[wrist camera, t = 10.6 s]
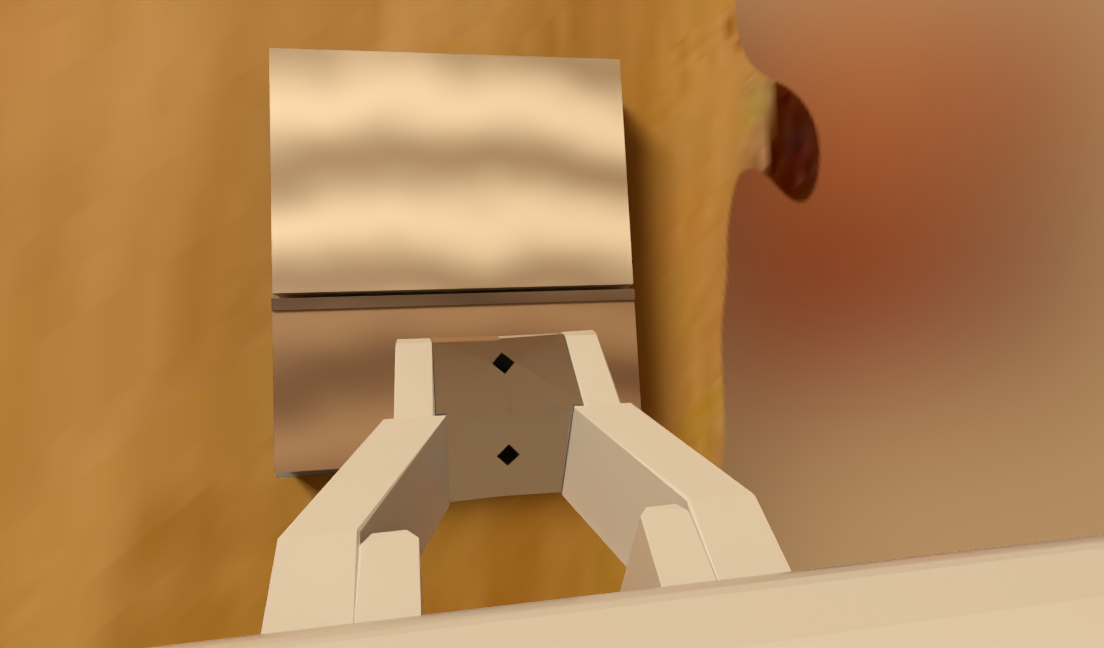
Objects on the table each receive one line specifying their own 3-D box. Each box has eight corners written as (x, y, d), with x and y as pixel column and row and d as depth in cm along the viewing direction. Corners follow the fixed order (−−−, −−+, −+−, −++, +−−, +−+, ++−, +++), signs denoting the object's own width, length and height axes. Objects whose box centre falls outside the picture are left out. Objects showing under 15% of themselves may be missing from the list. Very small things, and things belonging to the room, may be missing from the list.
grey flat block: (625, 448, 42) (654, 457, 36) (288, 471, 39) (262, 484, 33) (604, 93, 44) (628, 50, 38) (283, 86, 41) (258, 37, 35)
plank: (621, 290, 40) (633, 284, 37) (283, 299, 37) (272, 293, 34) (608, 79, 41) (619, 59, 38) (280, 70, 38) (269, 47, 35)
